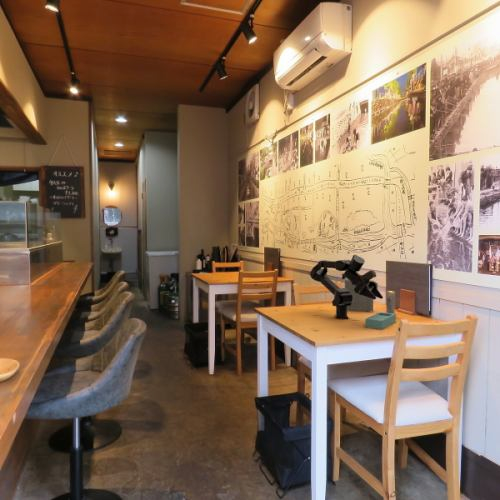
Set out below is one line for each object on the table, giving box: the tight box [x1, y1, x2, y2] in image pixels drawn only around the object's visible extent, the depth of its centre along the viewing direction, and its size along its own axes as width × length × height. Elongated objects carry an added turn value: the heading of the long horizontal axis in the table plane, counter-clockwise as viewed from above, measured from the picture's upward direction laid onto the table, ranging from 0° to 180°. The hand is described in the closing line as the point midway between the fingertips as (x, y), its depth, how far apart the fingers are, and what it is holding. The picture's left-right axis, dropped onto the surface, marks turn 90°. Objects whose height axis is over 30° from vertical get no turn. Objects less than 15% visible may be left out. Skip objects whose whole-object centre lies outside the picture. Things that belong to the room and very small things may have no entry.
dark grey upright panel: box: [344, 279, 375, 312], centre depth 234 cm, size 16×4×20 cm, turn 77°
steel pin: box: [385, 290, 396, 314], centre depth 215 cm, size 4×4×14 cm
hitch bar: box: [364, 311, 397, 330], centre depth 200 cm, size 20×8×4 cm, turn 143°
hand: (379, 298), depth 198 cm, fingers open, 9 cm apart
